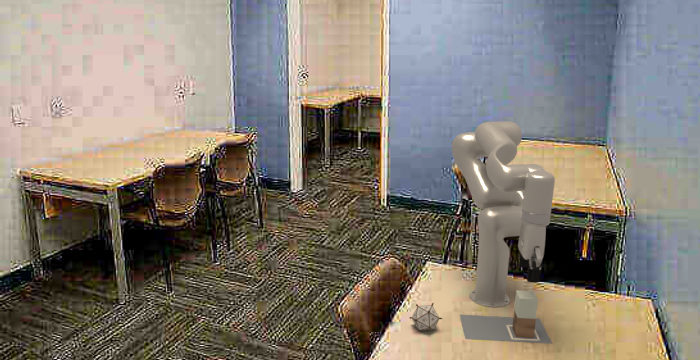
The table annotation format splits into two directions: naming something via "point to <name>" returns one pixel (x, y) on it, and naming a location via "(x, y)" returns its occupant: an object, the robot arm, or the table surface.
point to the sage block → (526, 304)
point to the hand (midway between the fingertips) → (528, 274)
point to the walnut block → (523, 327)
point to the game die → (425, 317)
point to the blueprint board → (499, 329)
